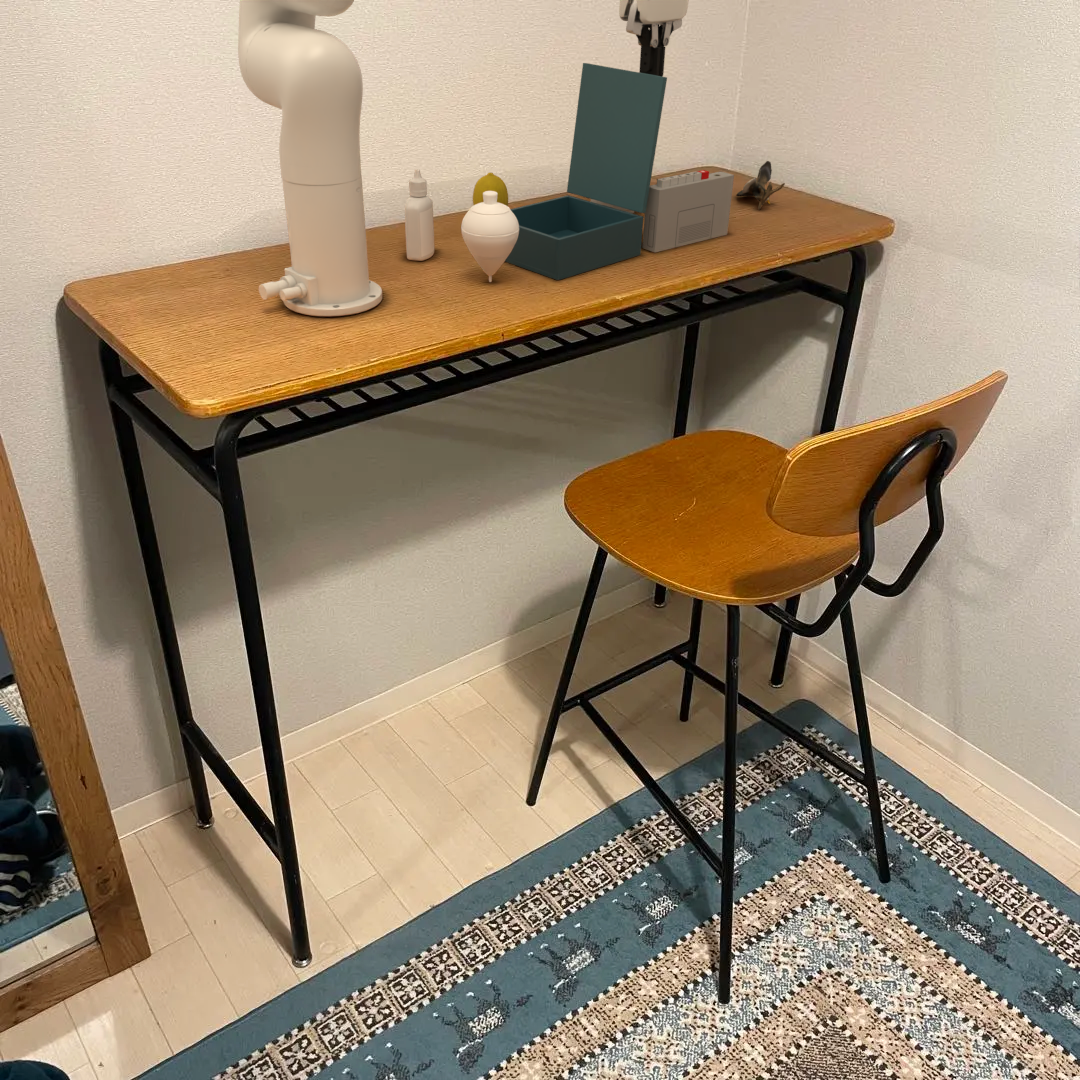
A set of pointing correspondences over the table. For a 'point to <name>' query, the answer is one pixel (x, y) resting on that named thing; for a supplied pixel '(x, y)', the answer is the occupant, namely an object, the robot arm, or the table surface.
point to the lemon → (490, 189)
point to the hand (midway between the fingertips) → (651, 75)
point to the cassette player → (687, 209)
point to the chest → (573, 236)
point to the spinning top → (490, 232)
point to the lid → (616, 136)
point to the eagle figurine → (760, 185)
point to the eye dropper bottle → (419, 220)
